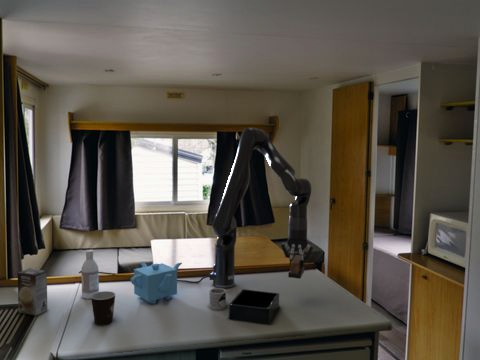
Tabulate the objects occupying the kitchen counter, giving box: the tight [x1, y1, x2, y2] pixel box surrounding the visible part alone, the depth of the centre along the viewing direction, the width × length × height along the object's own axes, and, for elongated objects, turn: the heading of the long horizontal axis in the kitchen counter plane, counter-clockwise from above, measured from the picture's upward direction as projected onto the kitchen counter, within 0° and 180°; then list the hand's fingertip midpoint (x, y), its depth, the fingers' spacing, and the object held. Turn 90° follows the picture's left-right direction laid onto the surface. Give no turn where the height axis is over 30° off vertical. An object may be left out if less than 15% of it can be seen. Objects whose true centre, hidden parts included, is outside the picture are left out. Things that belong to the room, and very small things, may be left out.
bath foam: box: [80, 249, 100, 300], centre depth 185 cm, size 7×7×20 cm
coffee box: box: [16, 267, 49, 316], centre depth 168 cm, size 9×6×16 cm
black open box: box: [228, 288, 280, 325], centre depth 169 cm, size 16×18×6 cm
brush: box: [287, 254, 305, 280], centre depth 178 cm, size 5×12×6 cm, turn 163°
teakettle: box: [130, 261, 183, 305], centre depth 184 cm, size 19×19×15 cm
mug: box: [208, 287, 227, 311], centre depth 177 cm, size 10×7×7 cm
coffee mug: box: [90, 290, 116, 326], centre depth 161 cm, size 12×9×10 cm
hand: (296, 268), depth 178 cm, fingers closed on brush, 3 cm apart
